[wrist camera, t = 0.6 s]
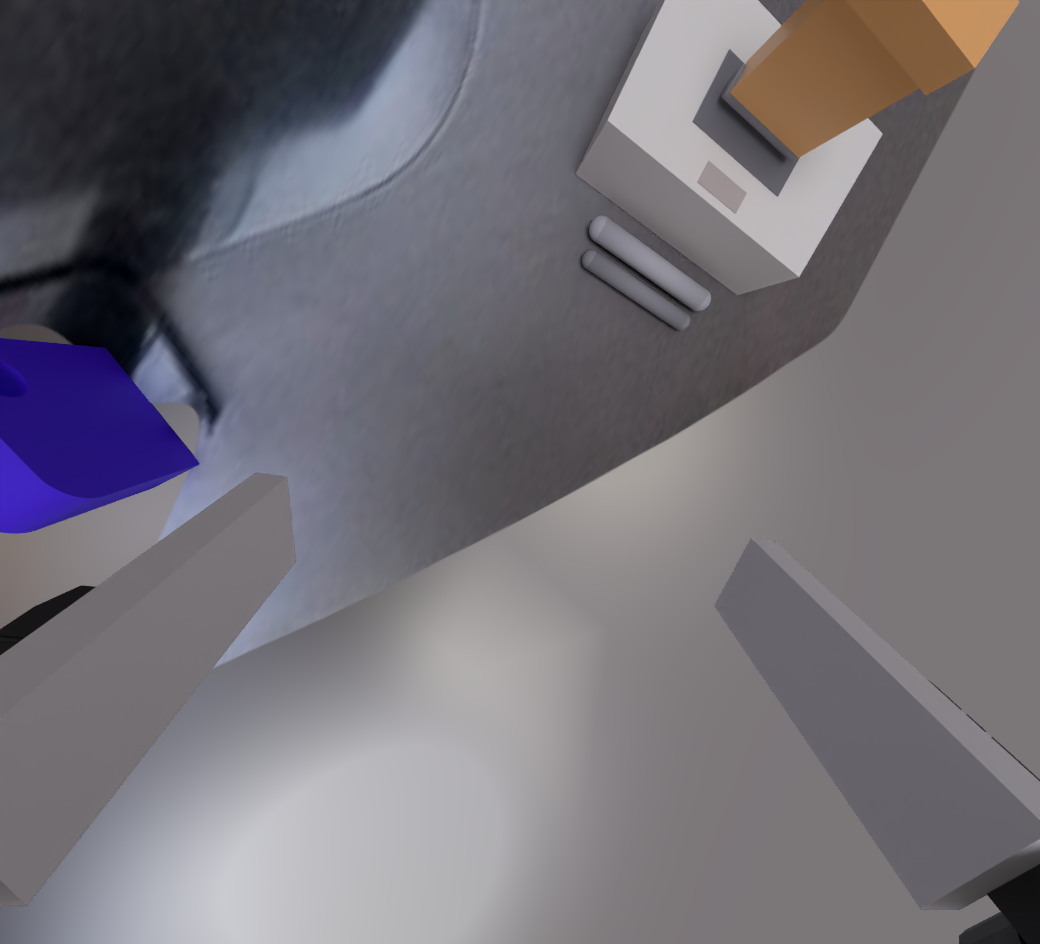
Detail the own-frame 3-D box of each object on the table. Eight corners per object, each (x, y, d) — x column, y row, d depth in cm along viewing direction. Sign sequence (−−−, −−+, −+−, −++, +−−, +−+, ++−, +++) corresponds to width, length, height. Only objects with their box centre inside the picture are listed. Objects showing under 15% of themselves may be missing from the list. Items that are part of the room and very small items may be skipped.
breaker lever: (782, 174, 28) (974, 68, 18) (710, 108, 26) (878, -57, 16) (805, 136, 28) (1019, 2, 17) (733, 65, 26) (925, -137, 15)
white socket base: (737, 295, 38) (800, 276, 31) (575, 174, 32) (608, 119, 25) (802, 179, 36) (884, 133, 29) (643, 31, 31) (697, -68, 24)
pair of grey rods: (683, 337, 38) (696, 335, 36) (570, 261, 34) (577, 254, 32) (705, 298, 37) (719, 293, 35) (592, 216, 33) (600, 206, 31)
